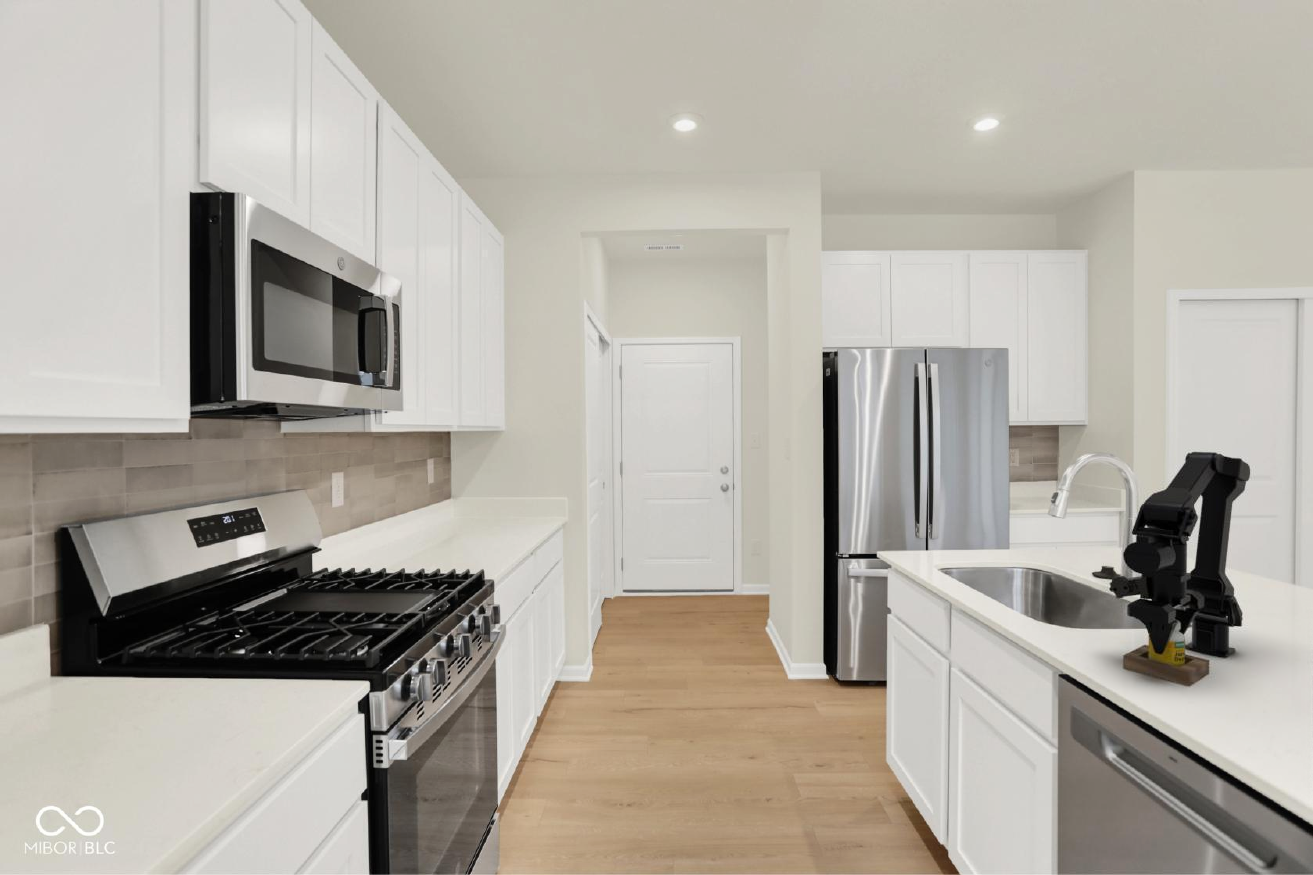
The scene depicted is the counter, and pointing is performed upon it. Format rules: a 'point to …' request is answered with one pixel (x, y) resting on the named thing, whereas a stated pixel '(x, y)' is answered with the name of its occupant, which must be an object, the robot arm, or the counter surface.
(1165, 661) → the supplement bottle
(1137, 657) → the socket block
